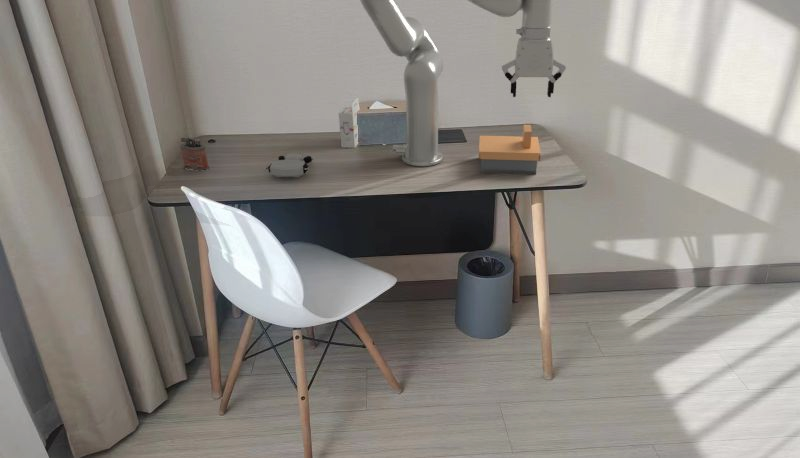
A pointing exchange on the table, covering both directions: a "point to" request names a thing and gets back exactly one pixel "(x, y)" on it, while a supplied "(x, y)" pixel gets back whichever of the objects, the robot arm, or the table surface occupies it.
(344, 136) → the ink cartridge box
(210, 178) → the table surface
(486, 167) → the tub
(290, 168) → the robot toy
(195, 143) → the lighter
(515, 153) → the lid
